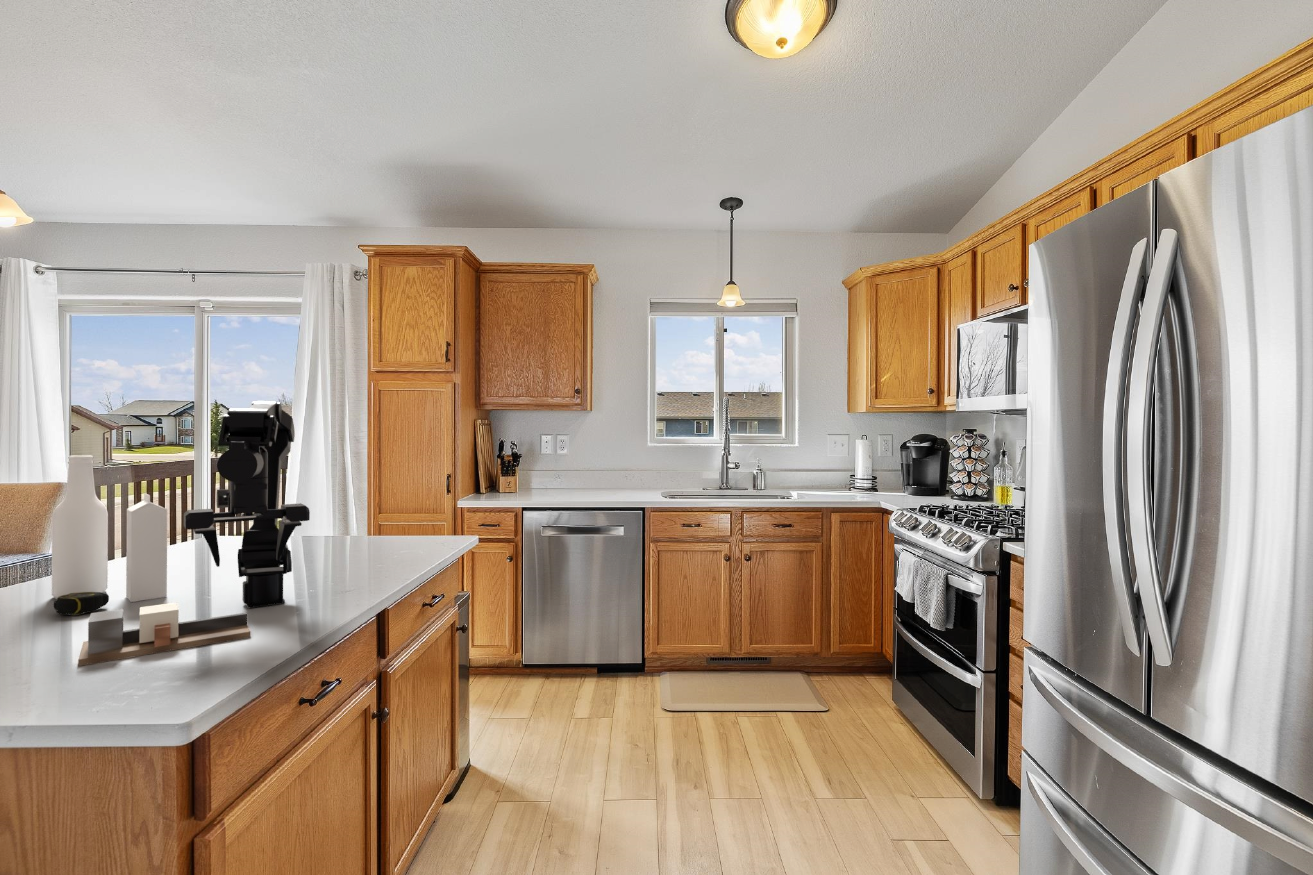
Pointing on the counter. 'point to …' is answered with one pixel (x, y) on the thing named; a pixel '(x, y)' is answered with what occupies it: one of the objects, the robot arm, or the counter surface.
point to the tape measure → (80, 602)
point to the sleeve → (158, 620)
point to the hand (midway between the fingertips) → (248, 562)
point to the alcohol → (79, 534)
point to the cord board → (174, 646)
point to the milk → (146, 551)
